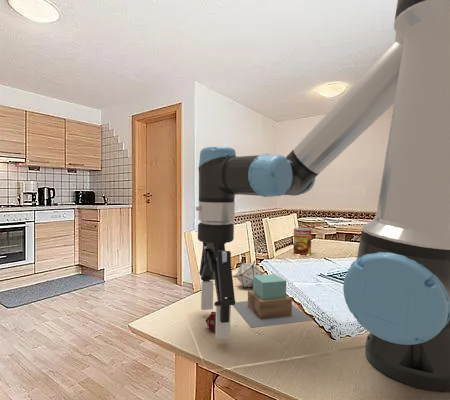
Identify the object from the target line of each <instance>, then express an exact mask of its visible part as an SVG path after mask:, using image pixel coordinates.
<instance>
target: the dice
mask: <svg viewBox="0 0 450 400" xmlns="http://www.w3.org/2000/svg"><path fill="white" fill-rule="evenodd" d="M204 321H205V323H206V325H207V327H208V329H209V330H210V331H214V332H215V329H216V311H211V313H210V314H209V315H208V316H207V318H206V319H205V320H204Z"/></svg>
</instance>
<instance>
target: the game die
mask: <svg viewBox="0 0 450 400" xmlns="http://www.w3.org/2000/svg"><path fill="white" fill-rule="evenodd" d="M239 264H240V266H239V268H238V270H237V273H236V275H234V276H233V278H236V279H237V281H239V283H240V284H241V286H242V289H243V290H244V289H246V288H251V287H252V288H253V276H257V275H266V272H265V271H264V272H262V270H261V269H260V268H259V266H258V265H257V264H256V260H254V261H253V262H247V263H246V262H245V263H244V262H243V263H242V262H241V261H239Z"/></svg>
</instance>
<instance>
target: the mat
mask: <svg viewBox="0 0 450 400" xmlns="http://www.w3.org/2000/svg"><path fill="white" fill-rule="evenodd" d="M232 307H233V308H234V309H235V310H236V312H237V313H238V314H239V315H240V317H242V319H243V320H244V321H245V322H246V323H247V324H248V326H249V327H250V328H251V329H252V328H253V329H254V328H263V327H271V326H278V325H284V324H285V325H286V324H293V323H299V322H300V323H302V322H310V321H313V319H312V318H311V317H310V316H309V315H308V314H306V313H305V312H303V311H302V310H300V309H299V308H298V307H296V306H295V305H293V304H292V316H283V317H275V318H267V319H259V318H258V317H257V316H256V314H255V313H254V312H253V311H252V310H251V309H250V308H249V307H248V300H245V301H235V305H232Z"/></svg>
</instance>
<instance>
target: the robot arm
mask: <svg viewBox="0 0 450 400" xmlns="http://www.w3.org/2000/svg"><path fill="white" fill-rule="evenodd" d="M394 16H395V17H394V23H393V29H394V31H395V37H394V38H395V39H394V42H393V43H391V45H390V46H389V47H388V48H387V49H386V50H385V51H384V52H383V54H382V55H381V56H380V57H379V58H377V60H376V61H374V63H373V64H372V65H371V66H370V67H369V68H368V69H367V71H366V72H365V73H364V74H363V75H362V76H361V77H360V78H359V79H358V80H357V81H356V82H355V83H354V84H353V85H352V87H350V88H349V90H348V91H347V92H346V93H345V94H344V95H343V96H342V97H341V98H340V99H339V100H338V101H337V103H335V104H334V106H333V107H332V108H330V110H329V111H328V112H327V113H326V114H325V115H324V116H323V117H322V118H321V119H320V120H319V122H318V123H317V124H316V125H315V126H314V127H313V128H312V129H311V130H310V131H309V132H308V133H307V134H306V135H304V137H303V138H302V140H301V141H300V142H299V143H298V144H297V145H296V146H295V147H294V148H293V149H292V150H291V151H290V153H289V154H287V156H286V157H285V156H284V155H282V154H270V153H263V154H257V155H245V156H242V155H241V156H236V153H237V152H236V150H235V149H234V148H232V147H229V146H206V147H205V146H204V147H203V148H201V150H200V153H199V159H198V160H199V162H198V168H197V169H198V206H196V207H195V210H196V211H197V212H198V221H200V222H199V223H198V224H197V240H198V241H199V242H201V243H202V253H201V259H200V266H199V273H198V274H199V276H200V279H201V287H200V288H201V289H200V293H201V294H200V311H208V310H214V307H215V312H216V329H215V331H214V332H215V334H214V335H215V339H216V340H217V339H225V338H226V339H227V338H231V308H232V306H233V305H235V302H236V297H235V291H234V290H235V288H234V281H233V280H234V279H233V270H232V259H231V257H232V252H231V250H226V247H225V246H226V244H227V243H231V242H233V241H234V238H235V237H234V236H235V230H234V229H235V224H233V223H232V222H234V221H235V210H236V209H235V207H236V205H235V204H236V202H235V197H236V196H235V195H237V196H238V195H242V196H257V197H264V198H267V197H270V198H272V197H281V196H301V195H303V194H306V193H308V192H310V190H312V189H313V187H314V185H315V182H316V178H317V176H318V175H320V174H321V173H322V172H323V171H324V170H325V169H326V168H327V167H328V166H330V164H331V163H333V161H335V160H336V159H337V158H338V157H339V156H340V155H341V154H342V153H344V151H345V150H346V149H348V147H350V146H351V145H352V144H353V143H354V142H355V141H357V139H359V137H360V136H361V135H362V134H363V133H364V132H365V131H367V130H368V129H369V128H370V127H371V126H372V125H373V124H374V123H376V121H377V120H379V118H381V117H382V116H383V115H384V114H385V113H386V112H387V111H388V110H389V109H390V108H391V107H392V106H393V109H392V115H391V121H390V128H389V133H388V139H387V145H386V152H385V157H384V163H383V171H382V177H381V184H380V188H379V189H380V190H379V193H378V202H377V207H376V214H375V217H374V218H373V219H372V220H370V221H369V222H367V223H365V224H364V225H363V226H362V228H361V233H360V239H359V244H358V250H357V256H356V260H355V261H353V262H352V263H351V264H350V266H349V268H348V269H347V272H346V274H345V276H344V279H343V283H342V284H343V289H342V290H343V297H344V300H345V303H346V305H347V308H348V310H349V312H350V313H351V314H352V315H353V317H354V318H355V319H356V322H357V323H359V325H360V326H361V327H362V328H364V330H366V331H367V332H369V334H368V335H367V337H366V340H365V356H366V358H367V360H368V362H369V363H370V364H371V365H372V366H373V368H375V369H376V370H379V372H381V373H383V374H384V375H386V376H388V377H390V378H391V379H393V380H396V381H397V382H400V383H403V384H406V385H408V386H412V387H415V388H419V389H424V390H427V391H428V390H429V391H434V392H435V391H438V392H450V0H397V4H396V9H395V15H394ZM214 287H215V291H216V292H215V293H216V300H217V301H215V302H214Z"/></svg>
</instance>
